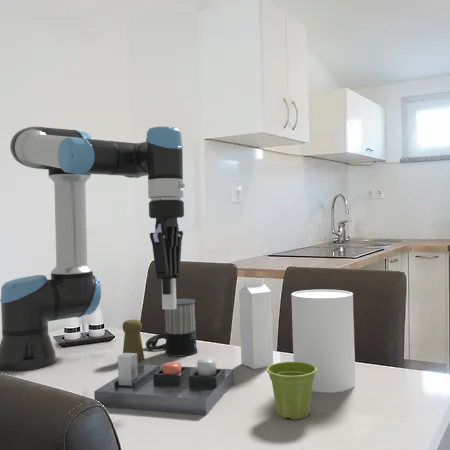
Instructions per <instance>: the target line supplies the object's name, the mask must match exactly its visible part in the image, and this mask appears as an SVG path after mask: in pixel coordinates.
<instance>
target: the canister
mask: <svg viewBox="0 0 450 450" xmlns="http://www.w3.org/2000/svg"><path fill="white" fill-rule="evenodd" d="M291 315H292V316H291V320H292V321H291V322H292V327H291V328H292V350H293V351H292V352H293V354H292V355H293V357H292V358H293V362H303V363H308V364H311V365H314V366H315V367H316V368H317V371H316V373H315V375H314V379H313V383H312V392H315V393H339V392H340V393H341V392H347V391H350V390H351V389H354V388H355V386H356V357H355V356H356V355H355V326H354V324H355V323H354V322H355V321H354V320H355V319H354V318H355V317H354V293H353V292H351V291H348V290H341V289H305V290H298V291H294V292H292V293H291Z"/></svg>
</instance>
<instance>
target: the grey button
mask: <svg viewBox="0 0 450 450" xmlns="http://www.w3.org/2000/svg"><path fill="white" fill-rule="evenodd" d="M196 362H197V366H196V367H197V369H198V376H210V377H215V376H216V375H217V371H216V368H217V359H215V358H210V357H209V358H200V359H198V360H197V361H196Z"/></svg>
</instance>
